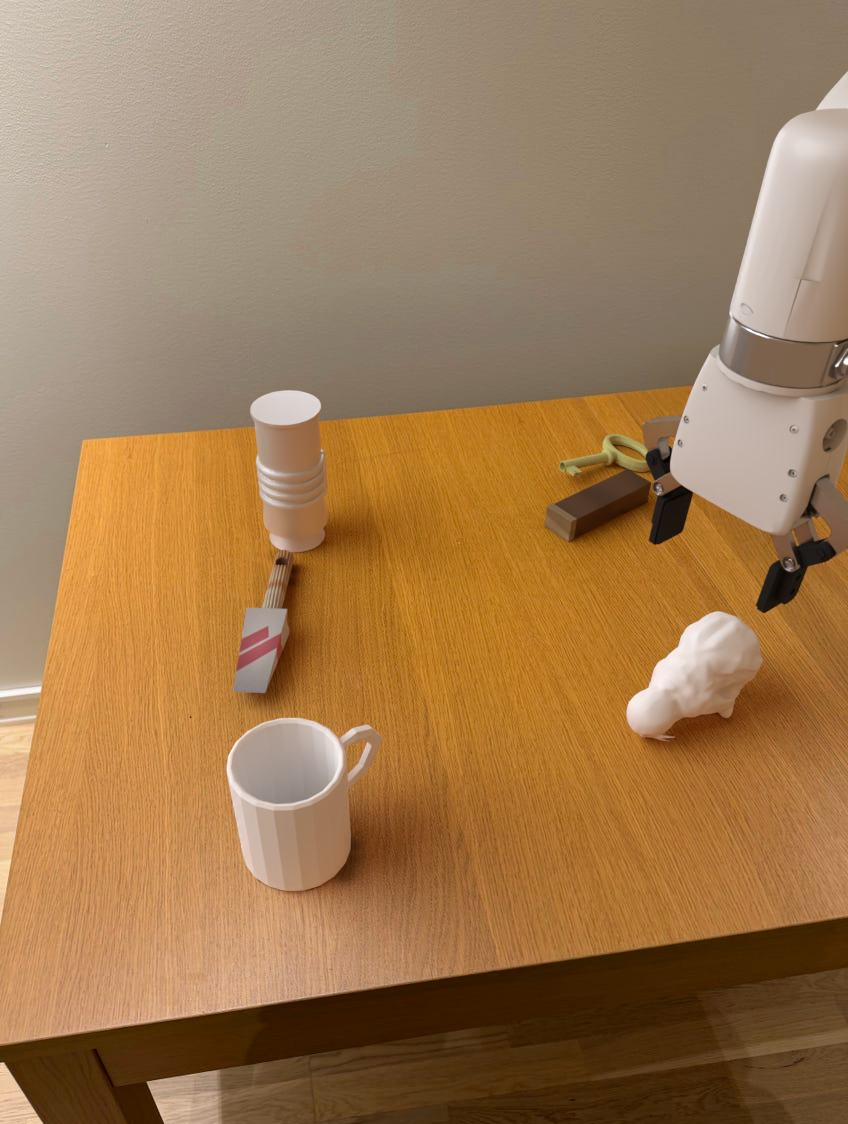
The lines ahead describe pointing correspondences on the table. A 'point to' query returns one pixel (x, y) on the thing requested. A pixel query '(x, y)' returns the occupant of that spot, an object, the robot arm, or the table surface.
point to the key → (609, 456)
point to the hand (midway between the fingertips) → (716, 569)
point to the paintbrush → (265, 632)
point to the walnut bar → (597, 504)
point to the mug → (295, 799)
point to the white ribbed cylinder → (291, 469)
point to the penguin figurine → (697, 675)
